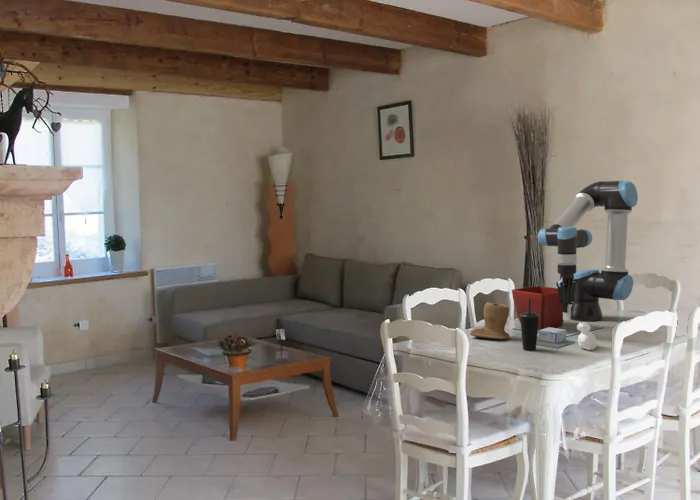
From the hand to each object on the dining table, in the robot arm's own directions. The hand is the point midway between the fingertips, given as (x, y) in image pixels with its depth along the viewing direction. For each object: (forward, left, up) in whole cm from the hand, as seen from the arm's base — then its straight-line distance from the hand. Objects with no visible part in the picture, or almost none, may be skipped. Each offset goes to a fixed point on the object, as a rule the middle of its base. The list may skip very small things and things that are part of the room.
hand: (566, 319), depth 289 cm
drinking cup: (+29, +1, -8) cm, 30 cm away
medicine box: (+6, 0, -5) cm, 8 cm away
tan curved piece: (+22, -22, -8) cm, 32 cm away
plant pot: (-11, -19, -8) cm, 23 cm away
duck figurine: (+12, +16, -8) cm, 22 cm away
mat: (+14, 0, -7) cm, 16 cm away
